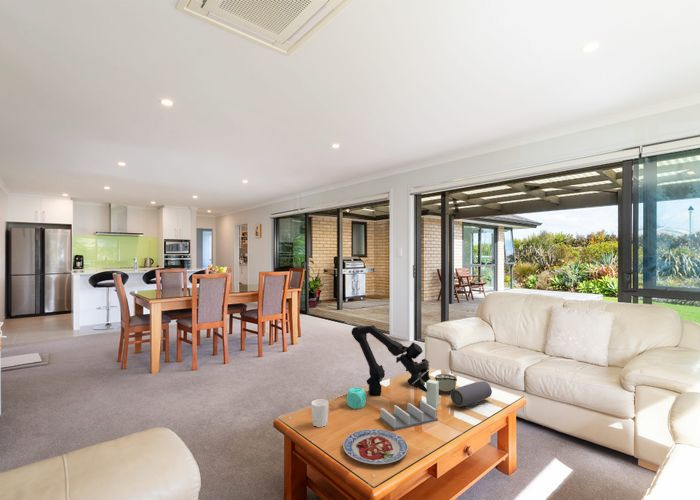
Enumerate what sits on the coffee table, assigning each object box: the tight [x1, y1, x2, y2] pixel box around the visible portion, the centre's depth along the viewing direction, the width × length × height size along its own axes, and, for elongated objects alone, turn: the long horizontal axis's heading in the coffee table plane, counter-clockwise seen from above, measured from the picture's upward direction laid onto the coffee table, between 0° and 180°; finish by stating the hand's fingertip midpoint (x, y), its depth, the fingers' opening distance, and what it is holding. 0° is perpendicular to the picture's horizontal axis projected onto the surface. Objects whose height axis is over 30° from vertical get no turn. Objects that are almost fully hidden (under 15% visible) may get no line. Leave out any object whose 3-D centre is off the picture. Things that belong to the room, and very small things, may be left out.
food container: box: [434, 373, 458, 397], centre depth 201 cm, size 12×6×10 cm, turn 84°
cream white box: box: [425, 379, 440, 409], centre depth 183 cm, size 4×5×13 cm
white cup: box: [311, 398, 330, 428], centre depth 164 cm, size 8×8×10 cm
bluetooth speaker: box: [450, 381, 493, 407], centre depth 187 cm, size 23×9×10 cm, turn 122°
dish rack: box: [379, 399, 439, 432], centre depth 169 cm, size 13×24×5 cm, turn 114°
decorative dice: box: [346, 387, 367, 410], centre depth 184 cm, size 8×8×8 cm
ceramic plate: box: [342, 428, 409, 465], centre depth 142 cm, size 26×26×3 cm
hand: (429, 388), depth 184 cm, fingers open, 9 cm apart
